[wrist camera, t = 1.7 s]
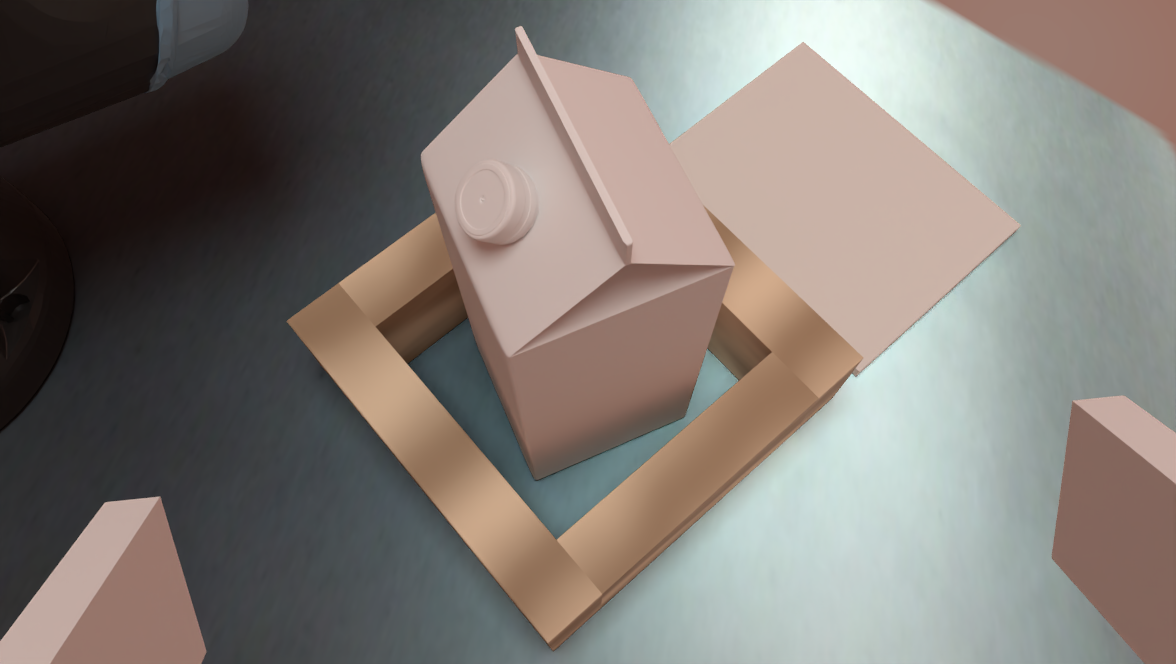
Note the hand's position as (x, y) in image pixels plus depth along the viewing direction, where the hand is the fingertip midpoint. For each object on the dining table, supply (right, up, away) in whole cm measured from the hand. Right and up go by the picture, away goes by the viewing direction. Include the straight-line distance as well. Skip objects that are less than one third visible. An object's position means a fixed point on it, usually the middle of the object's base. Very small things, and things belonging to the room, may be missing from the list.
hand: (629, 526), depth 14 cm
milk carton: (-1, +1, +28) cm, 28 cm away
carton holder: (-1, +1, +27) cm, 27 cm away
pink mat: (+11, +9, +31) cm, 34 cm away
